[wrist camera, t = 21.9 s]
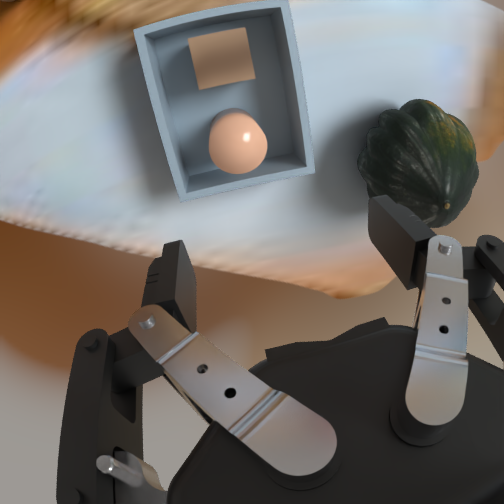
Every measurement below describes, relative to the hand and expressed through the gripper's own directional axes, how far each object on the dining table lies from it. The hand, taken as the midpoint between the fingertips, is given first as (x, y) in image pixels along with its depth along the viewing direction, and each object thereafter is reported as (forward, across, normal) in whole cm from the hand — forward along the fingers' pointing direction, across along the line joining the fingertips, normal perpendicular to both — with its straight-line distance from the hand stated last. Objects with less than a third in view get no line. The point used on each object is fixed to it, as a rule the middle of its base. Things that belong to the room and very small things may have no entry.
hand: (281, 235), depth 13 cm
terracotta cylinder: (+22, 0, 0) cm, 22 cm away
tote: (+23, 0, -4) cm, 23 cm away
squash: (+23, -20, +6) cm, 31 cm away
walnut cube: (+22, 0, -8) cm, 24 cm away
